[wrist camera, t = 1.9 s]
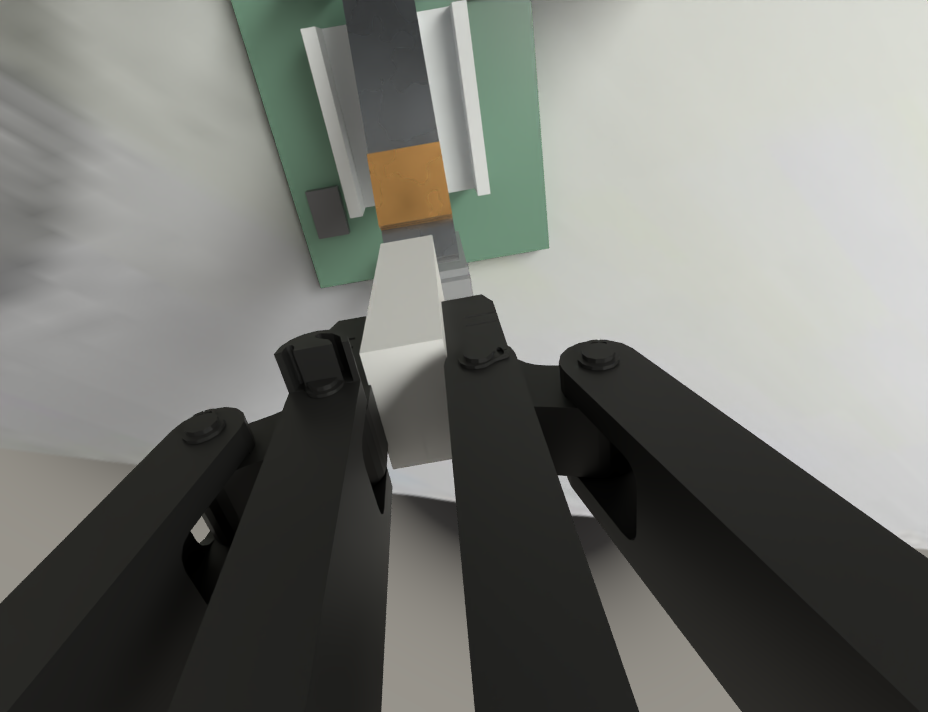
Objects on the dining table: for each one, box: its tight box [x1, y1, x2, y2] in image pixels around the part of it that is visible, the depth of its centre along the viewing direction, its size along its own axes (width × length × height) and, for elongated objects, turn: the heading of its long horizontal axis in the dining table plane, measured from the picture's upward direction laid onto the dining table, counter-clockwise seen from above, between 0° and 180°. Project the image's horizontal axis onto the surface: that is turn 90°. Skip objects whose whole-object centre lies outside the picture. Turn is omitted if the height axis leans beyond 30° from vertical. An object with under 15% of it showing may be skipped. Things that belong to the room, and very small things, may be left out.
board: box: [231, 0, 549, 301], centre depth 28 cm, size 20×16×10 cm
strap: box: [342, 0, 459, 264], centre depth 22 cm, size 15×4×2 cm
